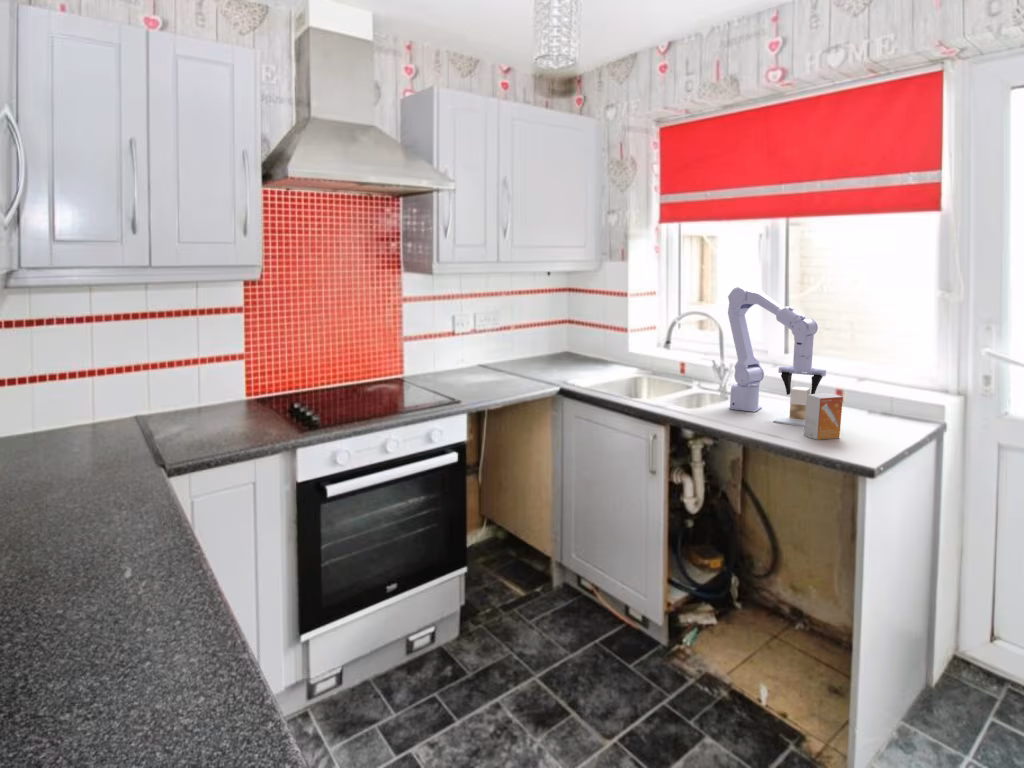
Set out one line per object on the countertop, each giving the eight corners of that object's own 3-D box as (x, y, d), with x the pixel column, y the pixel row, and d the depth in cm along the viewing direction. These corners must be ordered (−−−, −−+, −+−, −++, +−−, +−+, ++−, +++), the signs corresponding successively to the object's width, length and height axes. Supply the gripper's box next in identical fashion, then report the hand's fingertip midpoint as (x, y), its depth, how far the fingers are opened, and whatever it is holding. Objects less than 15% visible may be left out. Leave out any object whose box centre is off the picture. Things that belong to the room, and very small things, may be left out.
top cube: (790, 403, 220) (790, 389, 219) (793, 400, 224) (794, 386, 223) (805, 405, 217) (806, 390, 216) (809, 402, 221) (810, 388, 220)
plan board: (773, 422, 218) (773, 420, 218) (785, 413, 230) (785, 411, 230) (811, 427, 211) (811, 425, 211) (821, 417, 223) (822, 415, 223)
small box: (817, 440, 197) (820, 398, 194) (803, 435, 203) (805, 394, 200) (840, 438, 198) (843, 396, 196) (825, 433, 204) (828, 392, 202)
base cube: (789, 418, 221) (790, 403, 220) (793, 415, 225) (793, 400, 224) (805, 419, 218) (806, 405, 217) (808, 416, 222) (809, 402, 221)
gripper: (776, 355, 219) (774, 395, 221) (823, 358, 210) (821, 399, 213) (782, 352, 224) (780, 391, 227) (828, 355, 216) (825, 396, 218)
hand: (800, 395), depth 220 cm, fingers open, 7 cm apart
